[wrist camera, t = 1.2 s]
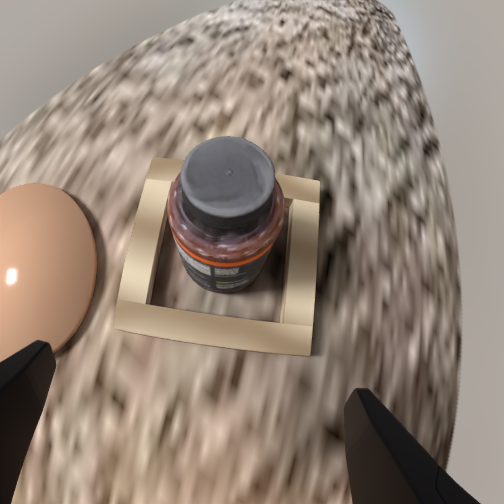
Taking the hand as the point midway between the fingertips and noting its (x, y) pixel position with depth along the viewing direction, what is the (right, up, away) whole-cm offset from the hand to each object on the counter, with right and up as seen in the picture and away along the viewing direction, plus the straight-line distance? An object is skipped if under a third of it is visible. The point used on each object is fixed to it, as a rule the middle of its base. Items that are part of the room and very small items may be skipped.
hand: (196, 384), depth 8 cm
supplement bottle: (-1, +3, +16) cm, 16 cm away
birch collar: (-1, +3, +16) cm, 16 cm away
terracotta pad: (-17, +2, +13) cm, 22 cm away
